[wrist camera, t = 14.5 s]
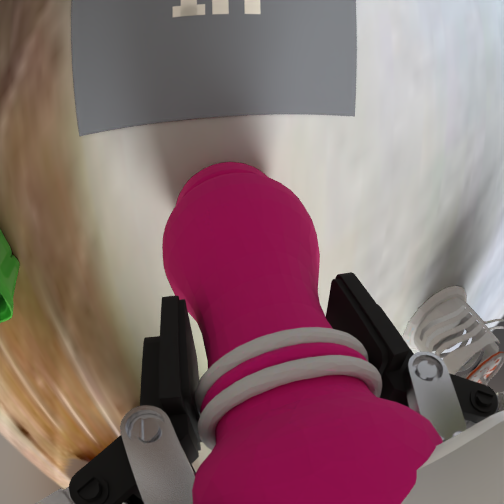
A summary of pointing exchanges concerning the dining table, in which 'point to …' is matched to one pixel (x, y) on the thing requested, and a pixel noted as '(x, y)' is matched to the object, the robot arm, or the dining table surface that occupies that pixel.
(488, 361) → the french press
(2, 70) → the dining table surface
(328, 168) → the dining table surface
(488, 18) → the dining table surface
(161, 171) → the dining table surface
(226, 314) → the pepper mill
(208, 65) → the tile
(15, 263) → the fruit basket
